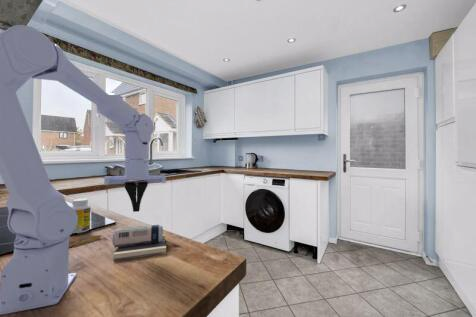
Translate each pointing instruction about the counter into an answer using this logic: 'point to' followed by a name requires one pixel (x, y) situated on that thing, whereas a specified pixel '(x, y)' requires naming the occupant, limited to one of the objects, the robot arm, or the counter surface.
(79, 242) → the shard
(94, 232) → the counter surface
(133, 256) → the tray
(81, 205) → the supplement bottle
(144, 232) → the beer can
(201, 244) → the counter surface
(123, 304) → the counter surface
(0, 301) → the robot arm
